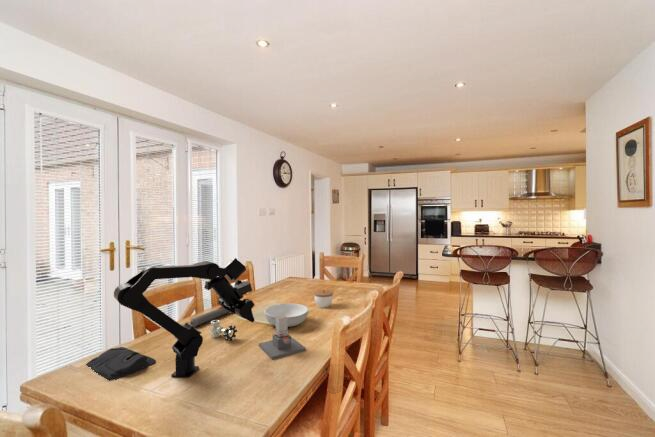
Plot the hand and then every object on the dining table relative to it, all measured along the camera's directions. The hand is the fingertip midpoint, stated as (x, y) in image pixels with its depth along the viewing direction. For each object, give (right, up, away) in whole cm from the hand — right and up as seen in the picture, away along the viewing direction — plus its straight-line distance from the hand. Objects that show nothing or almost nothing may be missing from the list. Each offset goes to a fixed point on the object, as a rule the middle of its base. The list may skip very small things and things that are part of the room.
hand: (247, 318), depth 121 cm
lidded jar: (+29, -12, +58) cm, 66 cm away
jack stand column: (+13, -11, +3) cm, 17 cm away
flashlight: (-26, -13, +38) cm, 48 cm away
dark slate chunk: (-43, -14, -9) cm, 46 cm away
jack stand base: (+13, -13, +3) cm, 18 cm away
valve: (-15, -13, +13) cm, 24 cm away
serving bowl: (+11, -12, +30) cm, 35 cm away
